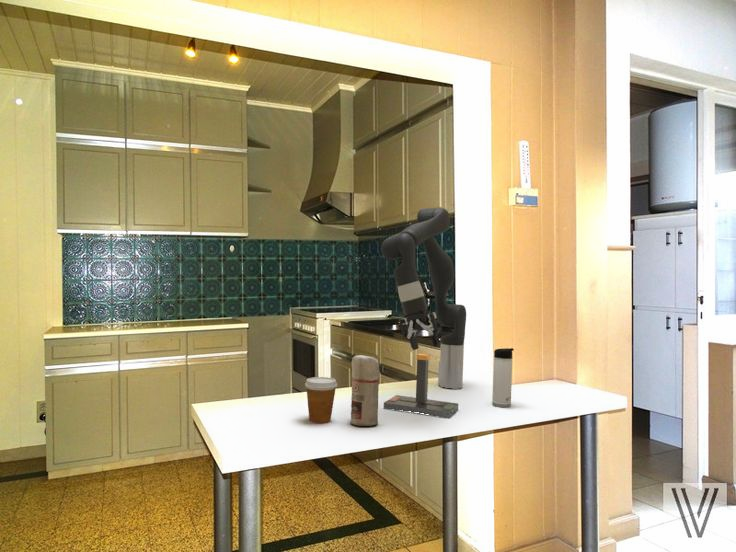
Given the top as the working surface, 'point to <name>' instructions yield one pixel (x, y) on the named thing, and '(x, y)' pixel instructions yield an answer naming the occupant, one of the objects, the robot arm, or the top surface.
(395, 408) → the switch base
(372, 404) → the spray can
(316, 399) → the disposable coffee cup
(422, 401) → the lever
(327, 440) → the top surface
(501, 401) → the travel mug
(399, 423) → the top surface
